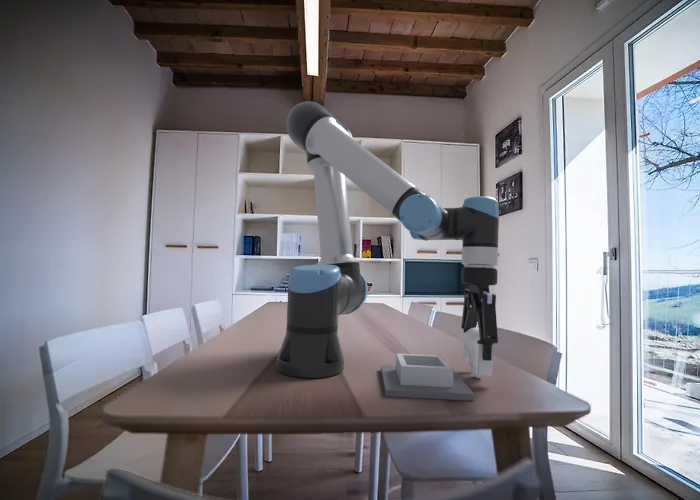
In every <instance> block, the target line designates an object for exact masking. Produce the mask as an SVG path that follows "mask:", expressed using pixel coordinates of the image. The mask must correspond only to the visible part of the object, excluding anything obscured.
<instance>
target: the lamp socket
mask: <svg viewBox="0 0 700 500" xmlns="http://www.w3.org/2000/svg"><path fill="white" fill-rule="evenodd" d="M380 373H381V378H382V384H383V388H384V393H385V397H391V398H392V397H395V398H413V399H414V398H415V399H432V400H433V399H434V400H451V401H453V400H454V401H470V402H472V401H473V402H474V401H475V393H474V392H473V391H472V390H471V389H470V387H469V386H468V385H467V384H466V383H465V382H464V381H463V379H462V378H461V377H460V376H459V375H458V374H457V373H456V372H455V371H454V368H453V366H451V364H450V363H449V362H448V361H447V360H446V358H444V357H443V355H437V354H436V355H435V354H415V353H413V354H412V353H396V354H395V365H388V364H381V365H380Z"/></svg>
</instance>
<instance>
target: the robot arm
mask: <svg viewBox="0 0 700 500" xmlns="http://www.w3.org/2000/svg"><path fill="white" fill-rule="evenodd" d="M286 130H287V131H286V132H287V135H288V137H289V139H290V140H291V142H293V143H294V144H295V145H296V146H298V148H301V149H303V150H304V151H305V152H306V154H305V155H306V163H307V164H306V165H307V168H308V169H309V170H310V171H312V172H313V179H314V181H313V182H314V191H315V192H314V193H315V202H316V203H315V205H316V214H317V215H316V216H317V225H318V240H319V250H320V251H319V252H320V260H319V261H318V262H317V263H316V264H315V263H314V264H303V265H298V266H295V267H293V268H291V269H290V272H289V275H288V277H289V278H288V282H287V307H286V308H287V309H286V331H285V336H284V339H283V341H282V343H281V346H280V350H279V352H278V355H277V358H276V369H277V371H278V372H279V373H281V374H284V375H286V376H290V377H295V378H304V379H305V378H306V379H314V378H315V379H317V378H318V379H319V378H326V377H332V376H333V377H334V376H336V375H338V374H341V373H343V371H344V368H345V358H344V354H343V350H342V347H341V346H342V345H341V343H340V339H339V334H338V332H339V331H338V327H339V316H341V315H349V314H351V313H354V312H355V311H356V310H359V309H360V308H361V307H362V306H363V305H364V303H366V300H367V297H368V293H369V288H368V283H367V280H366V278H365V276H364V275H362V273H361V266H360V260H359V259H357V258H356V257H355V256H354V254H353V243H352V242H353V240H352V233H351V232H352V231H351V222H350V221H351V220H350V213H349V210H350V209H349V202H348V199H349V198H348V190H347V189H348V188H347V181H346V179H348V180H349V181H350V182H352V183H353V184H354V185H356V186H357V187H358V188H359V189H360V190H361V191H363V192H364V193H365V194H367V195H368V196H369V197H370V198H371V199H373V200H374V201H375V202H376V203H377V204H379V206H381V207H383V209H385V210H386V211H387V212H389V213H390V214H391V215H393V217H395V219H397V220H398V221H399V222H401V223H402V226H403V227H404V228H405V229H406V230H408V231H409V234H410V237H411V238H412V239H414V240H421V241H427V242H428V241H454V240H455V241H461V242H462V247H461V264H462V265H463V266H464V267H462V268H461V280H460V281H461V283H462V284H464V285H469V287H468V289H467V288H465V289H464V291H463V293H464V294H463V295H464V296H463V298H464V299H463V306H462V307H463V308H462V317H461V325H460V326H461V329H463V333H464V334H465V333H466V332H467V331H468V330H469V329H471V328H475V327H477V326H478V328H479V335H480V340H478V341H477V344H478V375H479V376H481V377H492V376H493V357H494V355H493V354H494V353H493V352H494V344H498V342H499V337H498V324H497V322H498V321H497V307H496V306H497V305H496V303H497V302H496V301H497V295H496V293H491V292H490V286H496V285H497V284H498V270H497V268H495V266H498V258H499V257H500V256H501V255H500V252H498V249H499V225H500V224H499V223H500V213H499V211H500V209H499V201H498V200H497V199H496V198H495V197H491V196H485V195H482V196H481V195H480V196H479V195H478V196H473V197H472V196H470V197H467V198H465V199H464V201H463V205H462V206H460V207H442V206H441V205H439V203H438V201H436V200H435V199H434V198H433V197H431V196H430V195H427V194H426V193H425V192H424V191H422V190H421V189H419V188H418V187H416V186H415V185H414V184H413V183H412V182H410V181H409V180H408V179H407V178H405V177H404V176H402V175H401V174H400V173H399V172H397V171H396V170H395V169H394V168H392V167H390V166H389V165H388V164H386V163H385V162H384V161H383V160H381V159H380V158H379V157H377V156H376V155H375V154H373V153H372V152H371V151H369V150H368V149H367V148H366V147H365V146H363V145H362V144H360V143H359V142H358V141H356V140H355V139H353V137H354V136H353V134H352V133H351V131H350V130H349V128H348V127H347V125H346V124H345V123H344V122H342V121H341V120H339V119H337V118H336V116H334V115H333V114H332V113H331V112H330V111H329V110H328V109H327V108H326V107H324V106H323V105H322V104H320V103H318V102H315V101H310V100H309V101H308V100H307V101H303V102H302V101H301V102H299V103H297V104H295V106H293V107H292V108H291V110H290V111H289V113H288V115H287V118H286ZM488 336H489V337H488ZM463 363H469V356H468V353H467V351H466V349H465V347H464V346H463Z"/></svg>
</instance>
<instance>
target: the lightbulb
mask: <svg viewBox="0 0 700 500" xmlns="http://www.w3.org/2000/svg"><path fill="white" fill-rule="evenodd" d="M488 337H489V336H488ZM478 340H480V335H479V327H477V326H476V327H475V328H471V329H469V330H468V331H467V332H466V333H464V334H463V338H462V343H463V348H464V347H465V349H466V351H467V353H468V356H469V362H468V363H469V366H470V375H471V376H473V378H476V379H479V378H480V377H482V376H479V375H478V344H477V341H478Z"/></svg>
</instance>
